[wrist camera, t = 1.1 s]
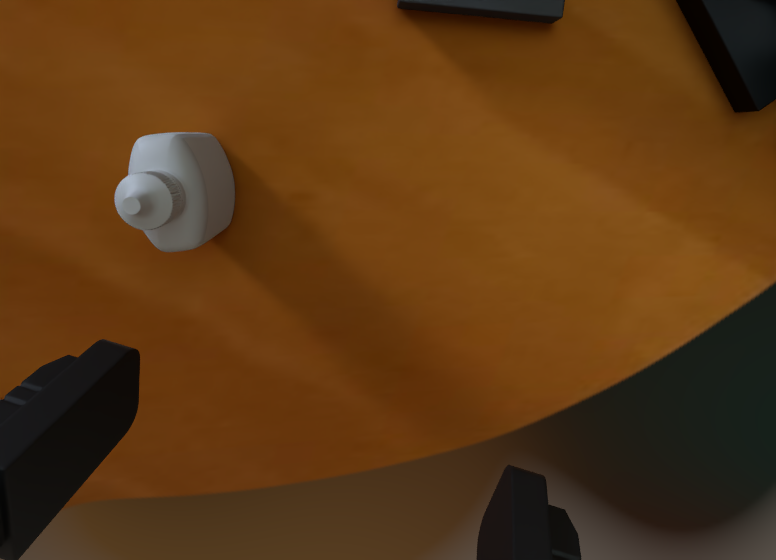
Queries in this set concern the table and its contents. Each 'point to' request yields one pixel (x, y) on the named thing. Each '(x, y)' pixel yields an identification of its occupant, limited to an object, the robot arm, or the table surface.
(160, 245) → the eye dropper bottle
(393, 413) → the table surface
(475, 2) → the button housing
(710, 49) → the valve block
